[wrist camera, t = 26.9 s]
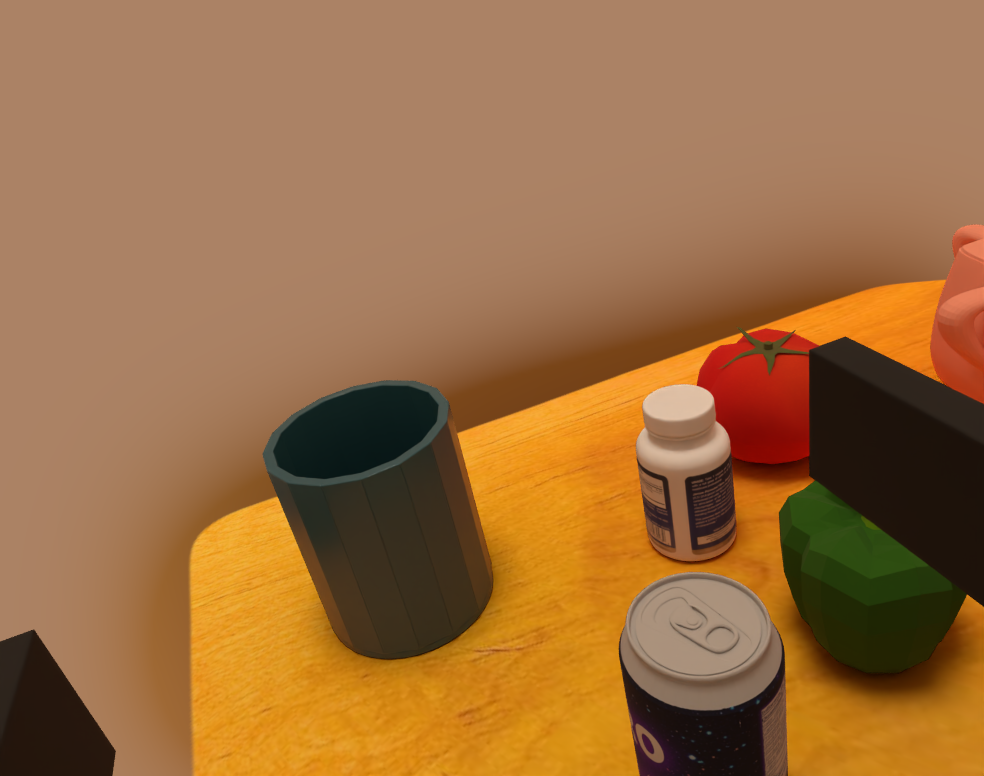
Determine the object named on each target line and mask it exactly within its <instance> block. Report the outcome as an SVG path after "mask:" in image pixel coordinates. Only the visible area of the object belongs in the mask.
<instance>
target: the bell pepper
mask: <svg viewBox="0 0 984 776" xmlns="http://www.w3.org/2000/svg"><path fill="white" fill-rule="evenodd" d="M779 523H780V541H781V550H782V558H783V566H784V572H785V575H786V578H787V581H788V584H789V587H790V590H791V593H792V596H793V598H794V601H795V603H796V605H797V607H798V610H799V612H800V614H801V617H802V618H803V619H804V620H805V621H806V622H807V623H808V624H809V625H810V626H811V628H812V631H813V633H814V636H815V638H816V640H817V641H818V642H819V643H820V644H821V645H822V646H823V647H824V648H825V649H826V650H827V651H828V652H829V653H830V654H831V655H832V656H833V657H834V658H835V659H836V660H837V661H838V662H841V663H843V664H846V665H848V666H850V667H853V668H855V669H858V670H860V671H863V672H865V673H899V672H902V671H904V670H906V669H908V668H910V667H912V666H915V665H917V664H919V663H921V662H923V661H926V660H928V659H929V657H930V656H931V654H932V652H933V651H934V649H935V647H936V646H937V644H938V643H939V642H941V641H942V639H943V638H944V636H945V635H946V633H947V632H948V630H949V628H950V627H951V625H952V624H953V622H954V620H955V618H956V616H957V614H958V612H959V610H960V608H961V606H962V604H963V602H964V600H965V598H966V595H967V594H966V593H965V592H964V591H962V590H961V589H960V588H958V587H957V586H956V585H954V584H953V583H952V582H950V581H949V580H948V579H946V578H945V577H944V576H942V575H941V574H940V573H938V572H937V571H936V570H934V569H933V568H932V567H930V566H929V565H928V564H926V563H925V562H924V561H922V560H921V559H920V558H918V557H917V556H916V555H914V554H913V553H912V552H910V551H909V550H908V549H906V548H905V547H904V546H902V545H901V544H900V543H898V542H897V541H896V540H894V539H893V538H892V537H890V536H889V535H888V534H886V533H885V532H884V531H882V530H881V529H880V528H878V527H877V526H876V525H874V524H873V523H872V522H870V521H869V520H868V519H866V518H865V517H864V516H862V515H861V514H860V513H858V512H857V511H856V510H854V509H853V508H852V507H850V506H849V505H848V504H846V503H845V502H844V501H842V500H841V499H840V498H838V497H837V496H836V495H834V494H833V493H832V492H830V491H829V490H828V489H826V488H825V487H824V486H822V485H821V484H820V483H818V482H817V481H816V480H815V481H814V482H813V483H811V484H810V485H809V486H808V487H806V488H805V489H804V490H802V491H800V492H797V493H795V494H793V495H791V496H789V497H788V499H787V500H786V502H785V503H784V505H783V507H782V508H781V510H780V512H779Z"/></svg>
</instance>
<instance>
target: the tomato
mask: <svg viewBox="0 0 984 776" xmlns="http://www.w3.org/2000/svg"><path fill="white" fill-rule="evenodd" d="M737 328H738V329H739V330H740V331H741V332H742V334H743V335H744V336H743V337H742V338H741V339H740V340H739V341H738V342H737V343H735V344H729V345H722V346H719V347H718V348H716V349H715V350H713V351H712V352H711V353H710V355H709V356H708V358H707V359H706V361H705V362H704V364H703V366H702V367H701V369H700V372H699V376H698V382H697V386H699V387H702V388H704V389H706V390H708V391H709V392H710V393H711V394H712V396H713V398H714V404H715V412H716V422H718V423H719V424H720V425H721V426H722V427H723V428H724V429H725V430H726V432H727V433H728V436H729V439H730V447H731V456H733V457H735V458H737V459H739V460H742V461H747V462H756V463H766V464H778V463H784V462H791V461H797V460H800V459H802V458H805V457H808V456H809V350H810V349H813V348H816V347H818V346H819V345H817V344H815V343H813V342H811V341H809V340H807V339H805V338H802V337H800V336H798V335H796V334H794V332H795V331H796V330H795V331H793V332H785V331H778V330H772V329H762V330H759V331H755V332H752V333H746V332H745V331H744V330H742V329H741V328H739V327H737Z"/></svg>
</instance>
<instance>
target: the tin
mask: <svg viewBox="0 0 984 776" xmlns="http://www.w3.org/2000/svg"><path fill="white" fill-rule="evenodd" d="M263 458H264V462H265V465H266V469H267V472H268V474H269V477H270V479H271V481H272V484H273V486H274V489H275V491H276V493H277V496H278V498H279V501H280V503H281V506H282V508H283V510H284V513H285V515H286V518H287V520H288V522H289V525H290V527H291V530H292V532H293V534H294V537H295V539H296V542H297V544H298V547H299V549H300V551H301V554H302V556H303V559H304V561H305V563H306V566H307V568H308V571H309V573H310V575H311V578H312V580H313V583H314V585H315V587H316V590H317V592H318V595H319V597H320V599H321V602H322V604H323V607H324V609H325V611H326V614H327V616H328V619H329V621H330V623H331V626H332V628H333V631H334V632H335V634H336V635H337V636H338V638H339V639H340V641H341V642H343V643H344V644H345V645H346V646H347V647H348V648H350V649H352V650H353V651H355V652H357V653H359V654H362V655H365V656H369V657H373V658H381V659H396V658H406V657H410V656H415V655H419V654H422V653H425V652H428V651H431V650H433V649H436V648H438V647H440V646H442V645H444V644H446V643H448V642H450V641H451V640H453V639H454V638H456V637H457V636H459V635H460V634H461V633H462V632H464V631H465V630H466V629H467V628H468V627H469V626H470V625H471V624H472V623H473V622H474V621H475V620H476V619H477V618H478V617H479V615H480V614H481V613H482V611H483V610H484V608H485V606H486V605H487V602H488V600H489V598H490V595H491V591H492V586H493V575H492V569H491V560H490V556H489V552H488V549H487V545H486V541H485V537H484V534H483V530H482V526H481V522H480V518H479V515H478V511H477V507H476V503H475V500H474V496H473V492H472V488H471V484H470V481H469V477H468V473H467V469H466V466H465V462H464V458H463V454H462V450H461V447H460V443H459V439H458V435H457V431H456V428H455V424H454V420H453V416H452V413H451V409H450V405H449V402H448V401H447V400H446V399H445V397H444V396H443V395H442V394H441V393H440V391H439V390H438V389H437V388H435V387H432V386H428V385H426V384H422V383H420V382H416V381H392V380H386V381H379V382H374V383H368V384H363V385H357V386H353V387H350V388H347V389H344V390H342V391H339V392H336V393H333V394H331V395H328V396H325V397H323V398H321V399H318V400H317V401H315V402H313V403H312V404H310V405H308V406H306V407H305V408H303V409H301V410H299V411H298V412H296V413H294V414H293V415H291V416H290V417H289V418H288V419H287V420H286V421H285V422H284V423H283V424H282V425H281V426H279V427H278V428H277V429H276V430H275V431H274V432H273V433H272V435H271V437H270V439H269V441H268V443H267V445H266V448H265V450H264V452H263Z"/></svg>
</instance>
